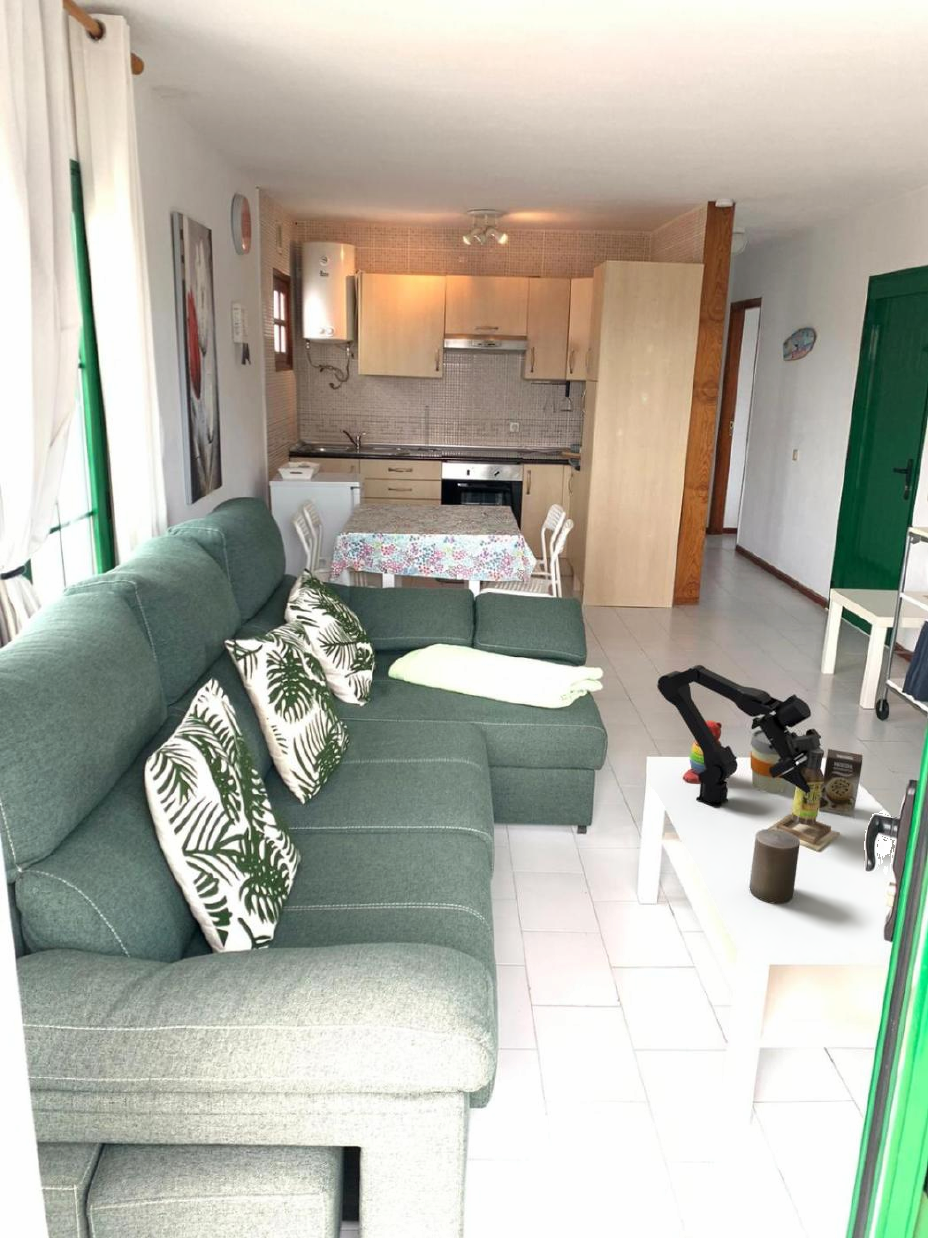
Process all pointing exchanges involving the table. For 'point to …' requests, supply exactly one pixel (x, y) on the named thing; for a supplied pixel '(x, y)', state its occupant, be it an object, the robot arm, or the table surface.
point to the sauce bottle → (809, 802)
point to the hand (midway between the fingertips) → (814, 788)
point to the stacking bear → (700, 755)
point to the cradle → (808, 832)
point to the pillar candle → (774, 865)
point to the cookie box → (840, 782)
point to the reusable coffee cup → (764, 764)
